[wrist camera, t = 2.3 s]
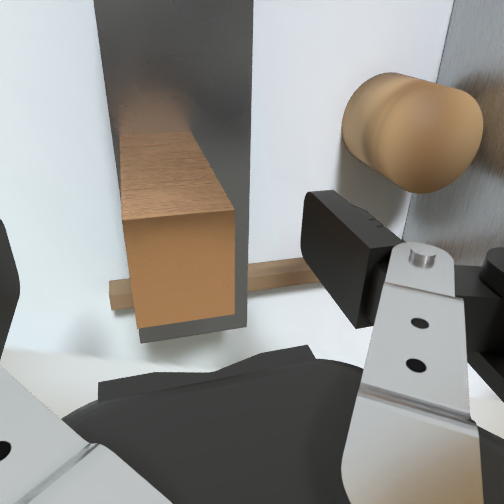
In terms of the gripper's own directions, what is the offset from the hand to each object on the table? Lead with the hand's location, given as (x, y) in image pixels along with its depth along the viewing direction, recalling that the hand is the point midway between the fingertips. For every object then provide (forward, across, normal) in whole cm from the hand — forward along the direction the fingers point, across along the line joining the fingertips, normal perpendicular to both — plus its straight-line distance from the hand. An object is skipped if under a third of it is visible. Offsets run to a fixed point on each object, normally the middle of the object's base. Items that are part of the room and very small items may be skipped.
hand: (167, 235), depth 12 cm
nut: (+11, -13, 0) cm, 18 cm away
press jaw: (+12, -1, 0) cm, 12 cm away
